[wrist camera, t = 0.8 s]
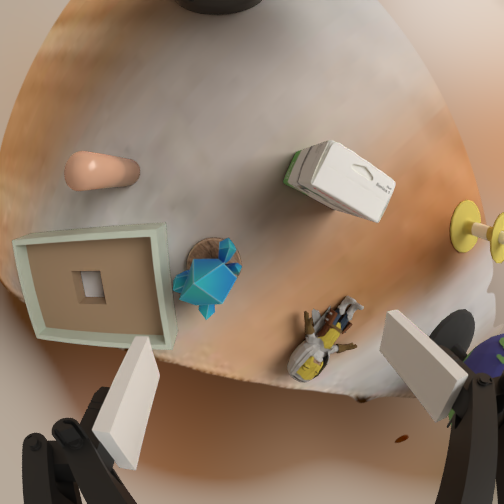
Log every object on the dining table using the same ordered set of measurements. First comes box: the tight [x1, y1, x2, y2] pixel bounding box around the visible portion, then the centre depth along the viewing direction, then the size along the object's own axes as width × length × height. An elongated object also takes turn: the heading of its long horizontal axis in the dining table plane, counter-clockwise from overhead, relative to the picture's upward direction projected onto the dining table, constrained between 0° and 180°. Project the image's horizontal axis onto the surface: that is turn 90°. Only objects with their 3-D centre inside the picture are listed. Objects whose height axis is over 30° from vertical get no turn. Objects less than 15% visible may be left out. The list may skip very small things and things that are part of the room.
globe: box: [429, 309, 504, 425], centre depth 31 cm, size 22×22×30 cm
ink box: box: [283, 140, 396, 223], centre depth 29 cm, size 9×5×12 cm, turn 65°
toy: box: [287, 296, 364, 382], centre depth 39 cm, size 12×5×15 cm
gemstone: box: [173, 238, 242, 320], centre depth 31 cm, size 7×9×12 cm
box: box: [12, 223, 178, 350], centre depth 33 cm, size 16×24×5 cm, turn 91°
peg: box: [64, 151, 140, 191], centre depth 26 cm, size 4×4×13 cm
